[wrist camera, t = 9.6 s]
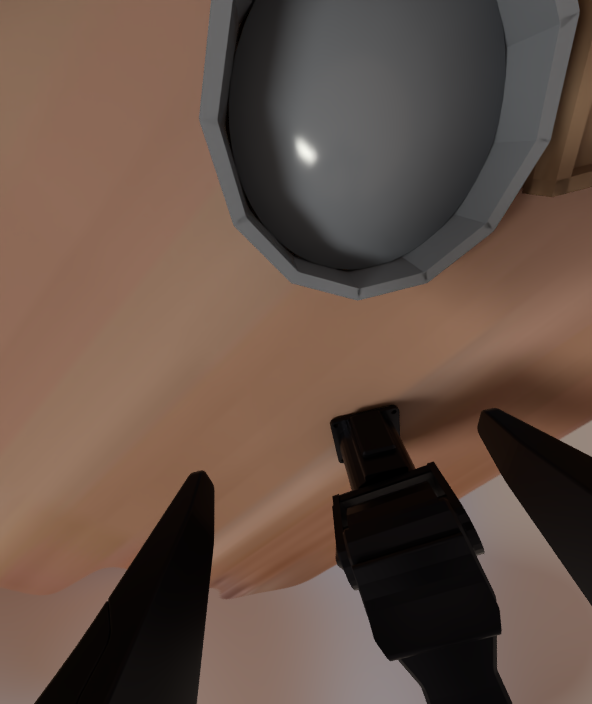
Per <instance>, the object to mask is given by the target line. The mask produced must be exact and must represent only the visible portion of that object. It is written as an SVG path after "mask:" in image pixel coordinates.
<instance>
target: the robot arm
mask: <svg viewBox="0 0 592 704" xmlns="http://www.w3.org/2000/svg"><path fill="white" fill-rule="evenodd" d="M330 426H331V430H332V435H333V439H334V443H335V447H336V452H337V456H338V460H339V462H340V463H344V464H345V468H346V471H347V475H348V479H349V482H350V486H351V489H352V491H350V492H347V493H344V494H341V495H339V494H337V495H335V496H333V506H332V509H333V519H334V529H335V539H336V562H337V565H338V566H339V567H340V568H342V569H343V570H344V572H345V574H346V576H347V579H348V581H349V583H350V585H351V587H352V588H353V589H354V590H359V592H360V595H361V598H362V601H363V604H364V607H365V610H366V613H367V616H368V619H369V622H370V625H371V629H372V633H373V637H374V639H375V642H376V643H377V645H378V646H379V647H380V649H381V650H382V652H383V653H384V654H385V656H386V657H387V659H389V661H393V660H399V662H400V663H401V664H402V665H403V666H404V667H405V669H406V670H407V671H408V672H409V673H410V674H411V676H412V677H413V678H414V679H415V680H416V681H417V682H418V683H419V685H420V686H421V688H422V691H423V694H424V696H425V699H426V702H427V704H512V701H511V699H510V697H509V695H508V693H507V690H506V688H505V686H504V684H503V682H502V679H501V677H500V675H499V673H498V671H497V635H500V634H501V620H500V610H499V607H498V604H497V602H496V596H495V594H494V591H493V589H492V587H491V585H490V583H489V581H488V579H487V577H486V575H485V573H484V571H483V569H482V567H481V564H480V563H479V560H478V558H477V555H481V554H484V548H483V546H482V543H481V541H480V538H479V536H478V534H477V532H476V530H475V528H474V526H473V524H472V522H471V520H470V518H469V517H468V515H467V513H466V511H465V509H464V508H463V506H462V504H461V503H460V501H459V500H458V498H457V497H456V495H455V493H454V492H453V490H452V489H451V487H450V486H449V484H448V483H447V481H446V480H445V478H444V477H443V475H442V474H441V472H440V471H439V469H438V468H437V466H436V464H435V463H434V462H430V463H428V464H427V465H426V466H423V467H420V468H417V469H416V468H415V466H414V464H413V462H412V460H411V458H410V456H409V454H408V452H407V450H406V448H405V446H404V444H403V442H402V440H401V438H400V422H399V409H398V407H397V406H396V405H391V406H387V407H383V408H379V409H375V410H370V411H366V412H362V413H358V414H353V415H349V416H345V417H341V418H336V419H333V420H331V422H330ZM477 428H478V433H479V435H480V437H481V439H482V441H483V442H484V444H485V446H486V448H487V450H488V451H489V453H490V455H491V457H492V459H493V460H494V462H495V464H496V466H497V468H498V469H499V471H500V473H501V475H502V476H503V478H504V480H505V481H506V483H507V484H508V486H509V487H510V489H511V490H512V492H513V493H514V495H515V496H516V497H517V499H518V500H519V502H520V503H521V505H522V506H523V507H524V509H525V510H526V512H527V513H528V515H529V516H530V518H531V519H532V520H533V522H534V523H535V525H536V526H537V528H538V529H539V530H540V532H541V533H542V535H543V536H544V538H545V539H546V541H547V542H548V543H549V545H550V546H551V547H552V549H553V551H554V552H555V554H556V555H557V556H558V558H559V559H560V560H561V562H562V564H563V565H564V566H565V568H566V569H567V571H568V572H569V574H570V575H571V576H572V578H573V580H574V581H575V582H576V584H577V585H578V587H579V588H580V590H581V591H582V592H583V594H584V595H585V597H586V598H587V600H588V601H589V603H590V604H591V605H592V457H591V456H589V455H587V454H585V453H583V452H581V451H579V450H577V449H575V448H573V447H572V446H569V445H568V444H566V443H563V442H562V441H560V440H558V439H556V438H554V437H552V436H550V435H548V434H546V433H544V432H542V431H541V430H539V429H537V428H535V427H533V426H531V425H529V424H527V423H525V422H523V421H521V420H519V419H517V418H515V417H513V416H511V415H510V414H508V413H506V412H504V411H502V410H500V409H497V408H491V409H486V410H483V411H482V412H481V414H480V418H479V422H478V427H477ZM213 546H214V485H213V483H212V481H211V480H210V478H209V477H208V475H207V474H206V472H205V471H203V470H202V471H197V472H193V473H191V474H190V475H189V476H188V478H187V479H186V481H185V482H184V484H183V485H182V487H181V489H180V490H179V492H178V493H177V495H176V496H175V498H174V499H173V501H172V502H171V504H170V505H169V507H168V508H167V510H166V511H165V513H164V514H163V516H162V517H161V519H160V521H159V522H158V524H157V525H156V527H155V528H154V530H153V531H152V533H151V534H150V536H149V537H148V539H147V540H146V542H145V543H144V545H143V546H142V548H141V550H140V551H139V553H138V554H137V556H136V557H135V559H134V560H133V562H132V563H131V565H130V566H129V568H128V569H127V571H126V572H125V574H124V576H123V577H122V579H121V580H120V582H119V583H118V585H117V586H116V588H115V589H114V591H113V592H112V594H111V595H110V597H109V599H108V601H107V602H106V603H105V604H104V606H103V607H102V609H101V610H100V612H99V613H98V615H97V616H96V618H95V619H94V621H93V623H92V624H91V625H90V627H89V628H88V630H87V631H86V633H85V634H84V636H83V637H82V639H81V640H80V642H79V643H78V645H77V646H76V648H75V649H74V650H73V651H72V653H71V654H70V656H69V657H68V658H67V660H66V661H65V662H64V664H63V665H62V667H61V668H60V669H59V671H58V672H57V674H56V675H55V676H54V678H53V679H52V680H51V682H50V683H49V684H48V686H47V687H46V688H45V690H44V691H43V692H42V694H41V695H40V697H39V698H38V699H37V701H36V702H35V703H34V704H197V696H198V686H199V677H200V668H201V658H202V649H203V640H204V631H205V621H206V612H207V603H208V593H209V584H210V575H211V566H212V556H213Z"/></svg>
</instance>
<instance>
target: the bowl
mask: <svg viewBox="0 0 592 704" xmlns="http://www.w3.org/2000/svg"><path fill="white" fill-rule="evenodd" d="M250 9H251V11H250ZM249 11H250V13H249V15H248V17H247V20H246V22H245V24H244V27H243V30H242V34H241V37H240V40H239V43H238V46H237V40H238V33H239V26H240V24H241V22H242V21H243V19H244V18H245V17H246V15H247V14H248V12H249ZM579 12H580V9H579V4H578V0H211V8H210V17H209V27H208V37H207V47H206V56H205V66H204V76H203V86H202V95H201V105H200V115H199V121H200V124H201V127H202V130H203V133H204V136H205V139H206V142H207V145H208V148H209V151H210V155H211V158H212V161H213V164H214V167H215V170H216V173H217V176H218V179H219V182H220V185H221V188H222V191H223V194H224V197H225V200H226V204H227V207H228V210H229V213H230V216H231V219H232V222H233V225H234V226H235V227H236V228H237V229H238V230H239V231H240V232H241V233H242V234H243V235H244V236H245V237H246V238H247V239H248V240H249V241H250V242H251V243H252V244H253V245H254V246H255V247H256V248H257V249H258V250H259V251H260V252H261V253H262V254H263V255H264V256H265V257H266V258H267V259H268V260H269V261H270V262H271V263H272V264H273V265H274V266H275V267H276V268H277V269H278V270H279V271H280V272H281V273H282V274H283V275H284V276H285V277H286V278H287V279H288V280H289V281H290V282H291V283H293V284H297V285H301V286H304V287H308V288H312V289H316V290H320V291H323V292H327V293H331V294H335V295H339V296H343V297H346V298H350V299H354V300H362V299H366V298H370V297H374V296H378V295H382V294H385V293H389V292H393V291H397V290H401V289H405V288H409V287H413V286H417V285H421V284H425V283H428V282H429V281H430V280H432V279H433V278H434V277H436V276H437V275H438V274H439V273H441V272H442V271H443V270H445V269H446V268H447V267H448V266H450V265H451V264H452V263H453V262H455V261H456V260H457V259H459V258H460V257H461V256H462V255H464V254H465V253H466V252H468V251H469V250H470V249H471V248H473V247H474V246H475V245H477V244H478V243H479V242H480V241H482V240H483V239H484V238H486V237H487V236H488V235H489V234H491V233H492V232H493V231H494V230H495V228H496V227H497V225H498V224H499V222H500V220H501V219H502V217H503V216H504V214H505V212H506V211H507V209H508V208H509V206H510V205H511V203H512V201H513V200H514V198H515V197H516V195H517V193H518V192H519V190H520V189H521V187H522V185H523V184H524V182H525V181H526V179H527V177H528V176H529V174H530V173H531V171H532V170H533V168H534V166H535V165H536V163H537V162H538V160H539V158H540V157H541V155H542V154H543V152H544V150H545V149H546V147H547V146H548V144H549V142H550V140H551V136H552V132H553V127H554V123H555V118H556V114H557V110H558V105H559V101H560V97H561V92H562V88H563V83H564V79H565V75H566V70H567V66H568V62H569V57H570V53H571V48H572V44H573V40H574V35H575V31H576V27H577V22H578V18H579ZM236 48H237V50H236ZM228 104H229V129H230V138H231V146H232V149H231V146H230V142H229V139H228V136H227V132H226V129H225V125H226V118H227V111H228ZM232 152H233V153H232ZM243 190H244V191H243ZM244 192H245V194H246V196H247V198H248V200H249V202H250V204H251V206H252V208H253V210H254V211H255V213H256V214H257V216H258V217H259V219H260V220H259V219H258V218H257V217H256V216H255V214H254V213H253V212H252V211H251V210H250V209H249V208H248V205H247V201H246V198H245V194H244ZM284 246H285V247H286V248H288V249H289V250H290V251H292V252H293V253H295V254H296V255H298V256H300V257H297V256H294V255H292V254H291V253H290V252H289V251H288V250H287V249H286V248H285V247H284ZM301 257H302V258H301ZM343 269H348V270H343Z"/></svg>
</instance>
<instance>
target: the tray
mask: <svg viewBox="0 0 592 704" xmlns="http://www.w3.org/2000/svg"><path fill="white" fill-rule="evenodd" d="M578 4H579V9H580V12H579V18H578V22H577V27H576V31H575V35H574V40H573V44H572V48H571V53H570V57H569V62H568V66H567V70H566V75H565V79H564V83H563V88H562V92H561V97H560V101H559V105H558V110H557V114H556V118H555V123H554V127H553V132H552V136H551V140H550V142H549V144H548V146H547V147H546V149H545V150H544V152H543V154H542V155H541V157H540V158H539V160H538V162H537V163H536V165H535V166H534V168H533V170H532V171H531V173H530V174H529V176H528V177H527V179H526V181H525V182H524V186H523V191H522V193H525V194H532V195H540V196H547V197H554V196H558V195H562V194H566V193H570V192H574V191H578V190H581V189H585V188H589V187H592V0H578Z"/></svg>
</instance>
